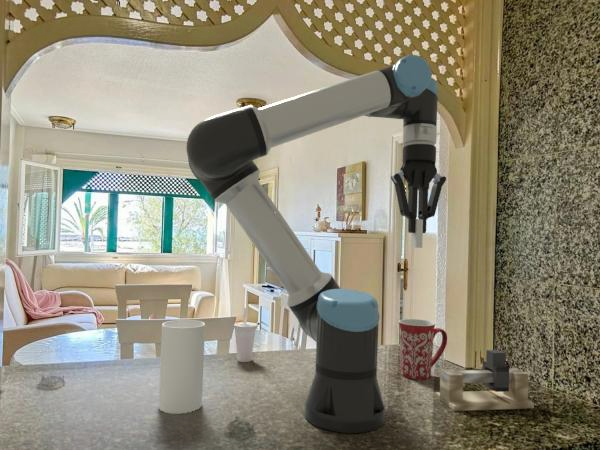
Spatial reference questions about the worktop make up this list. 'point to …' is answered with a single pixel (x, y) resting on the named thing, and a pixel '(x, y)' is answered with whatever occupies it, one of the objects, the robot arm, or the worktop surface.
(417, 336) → the mug
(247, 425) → the worktop surface
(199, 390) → the cup
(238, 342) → the smoothie
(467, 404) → the rail
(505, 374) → the dark grey sliding collar
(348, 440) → the worktop surface
